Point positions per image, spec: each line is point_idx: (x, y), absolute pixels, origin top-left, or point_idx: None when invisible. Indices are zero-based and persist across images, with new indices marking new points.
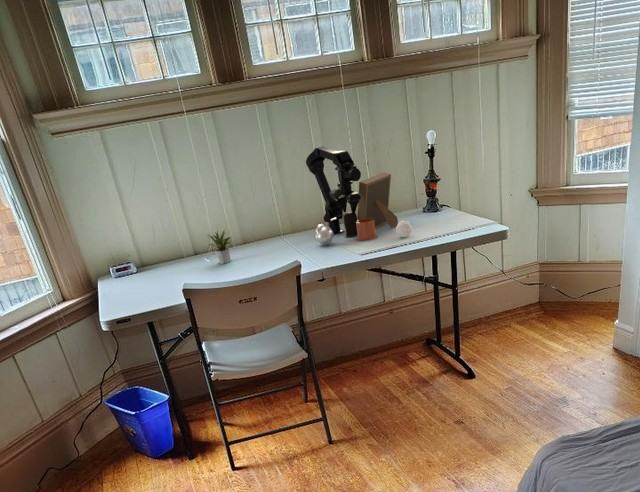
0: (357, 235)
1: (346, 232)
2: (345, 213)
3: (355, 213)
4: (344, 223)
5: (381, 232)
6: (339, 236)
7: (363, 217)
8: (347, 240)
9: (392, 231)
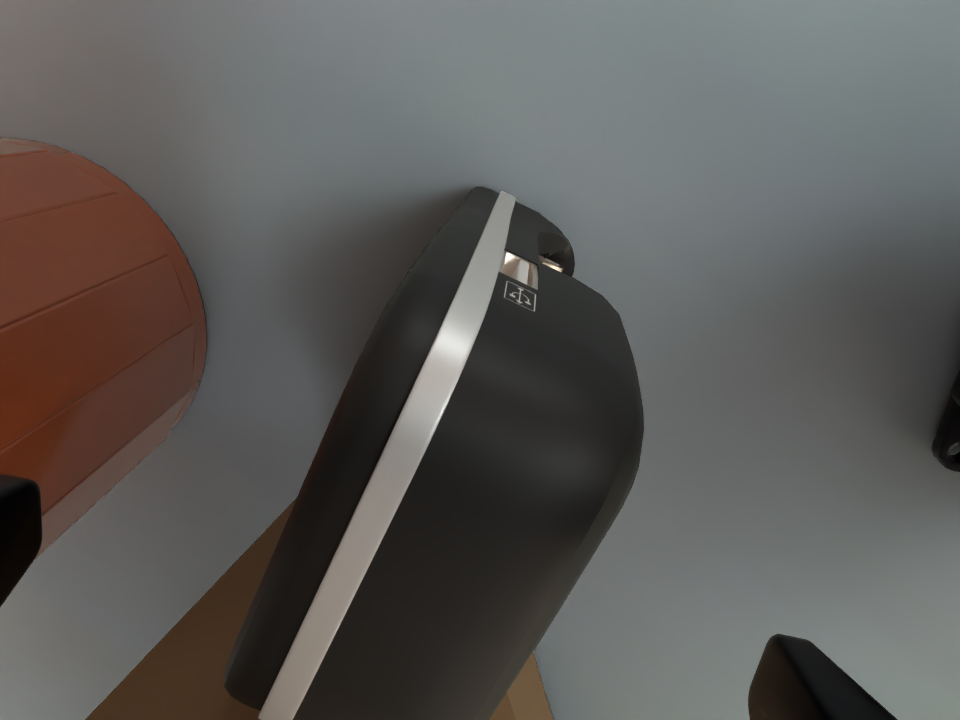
0: (73, 186)
1: (464, 200)
2: (462, 476)
3: (229, 683)
4: (458, 230)
5: (141, 629)
6: (739, 178)
7: (145, 689)
8: (272, 27)
9: (32, 708)
